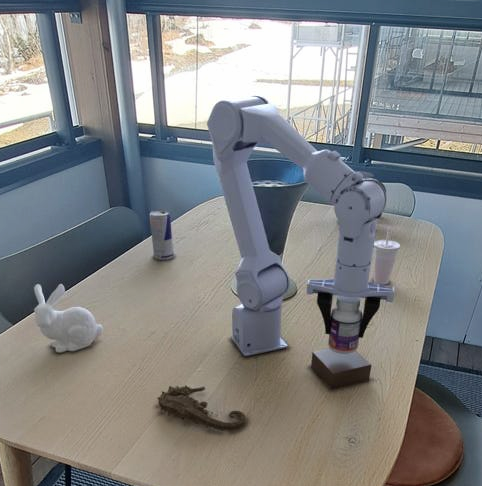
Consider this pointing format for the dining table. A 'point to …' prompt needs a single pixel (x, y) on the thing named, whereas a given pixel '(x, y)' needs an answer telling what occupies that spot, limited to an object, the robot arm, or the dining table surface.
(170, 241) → the energy drink
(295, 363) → the dining table surface
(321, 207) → the dining table surface
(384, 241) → the smoothie
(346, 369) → the walnut block
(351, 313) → the pill bottle
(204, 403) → the seahorse
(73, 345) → the rabbit
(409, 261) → the dining table surface
